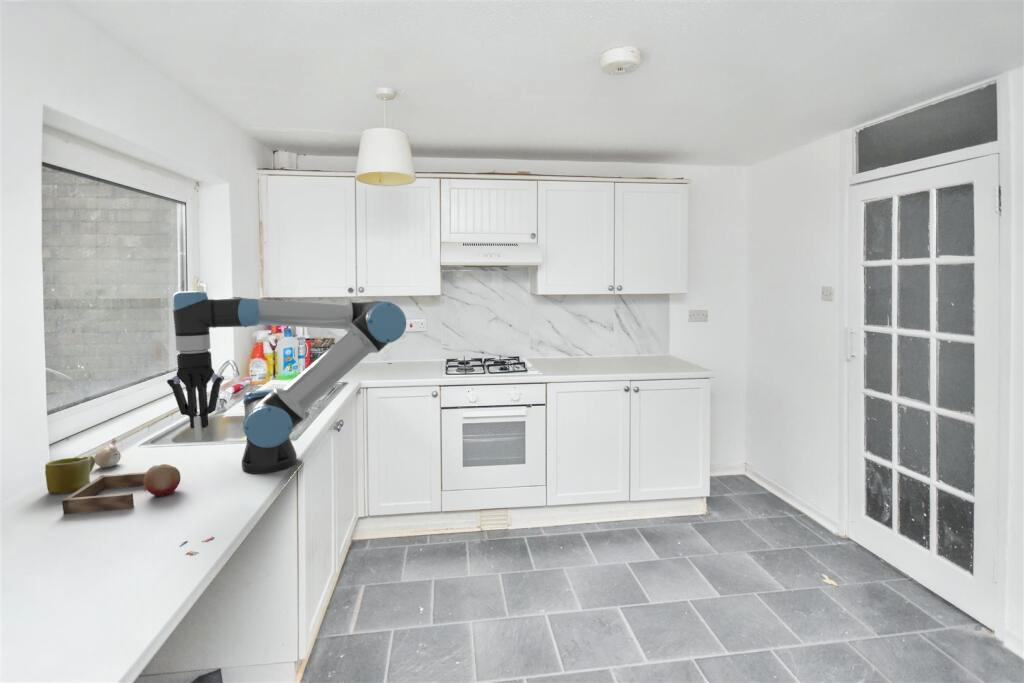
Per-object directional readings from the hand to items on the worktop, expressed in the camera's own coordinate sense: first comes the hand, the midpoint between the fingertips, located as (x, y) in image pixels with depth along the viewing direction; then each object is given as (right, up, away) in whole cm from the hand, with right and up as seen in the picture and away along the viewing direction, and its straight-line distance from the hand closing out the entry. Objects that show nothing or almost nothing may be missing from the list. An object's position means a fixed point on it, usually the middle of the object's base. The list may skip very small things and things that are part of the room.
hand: (200, 439), depth 134 cm
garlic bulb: (-41, -12, +20) cm, 47 cm away
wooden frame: (-20, -15, -3) cm, 25 cm away
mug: (-37, -14, +5) cm, 40 cm away
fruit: (-9, -14, 0) cm, 17 cm away
